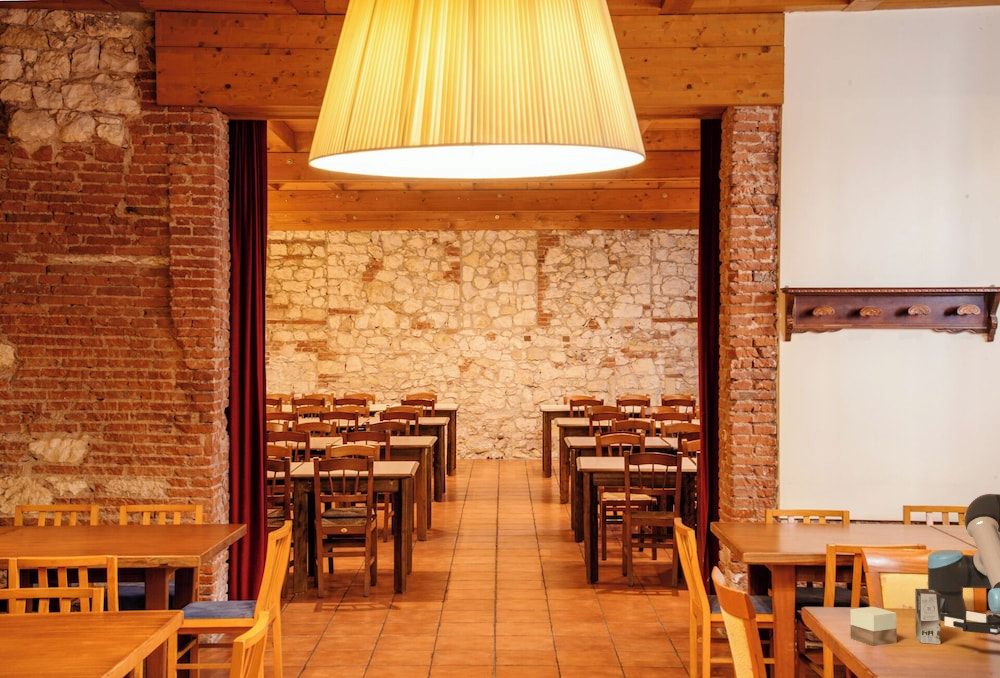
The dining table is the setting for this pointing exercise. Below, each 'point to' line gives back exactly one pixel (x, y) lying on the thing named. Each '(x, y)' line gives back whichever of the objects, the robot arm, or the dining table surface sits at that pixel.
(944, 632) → the dining table surface
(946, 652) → the dining table surface
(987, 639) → the dining table surface
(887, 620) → the tower top
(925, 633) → the coffee box
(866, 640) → the tower base
